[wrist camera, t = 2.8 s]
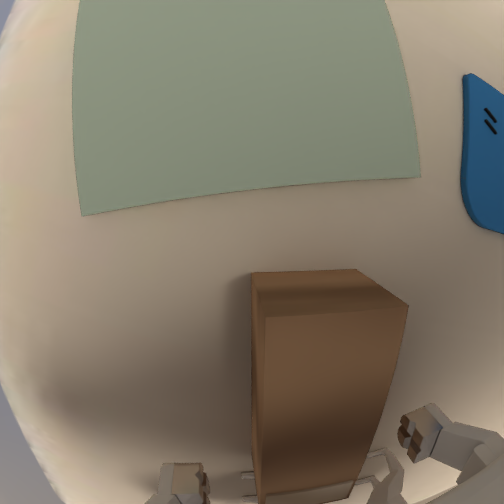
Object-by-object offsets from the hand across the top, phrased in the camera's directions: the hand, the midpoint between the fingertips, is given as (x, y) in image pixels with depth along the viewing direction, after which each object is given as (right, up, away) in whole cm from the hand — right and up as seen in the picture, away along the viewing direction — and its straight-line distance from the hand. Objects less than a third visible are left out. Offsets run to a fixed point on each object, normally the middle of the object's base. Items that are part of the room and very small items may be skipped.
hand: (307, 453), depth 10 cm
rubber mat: (-3, +20, 0) cm, 20 cm away
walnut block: (0, +2, +4) cm, 4 cm away
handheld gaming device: (+16, +13, +4) cm, 21 cm away
